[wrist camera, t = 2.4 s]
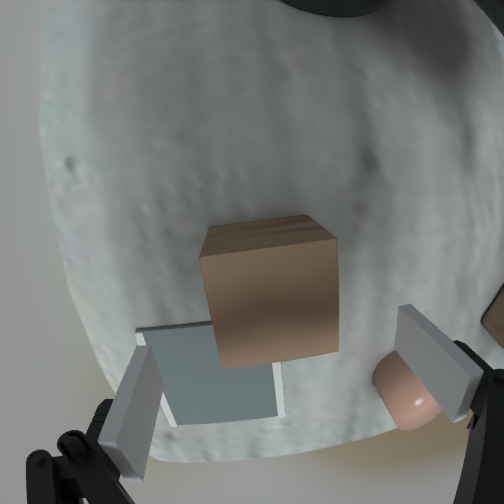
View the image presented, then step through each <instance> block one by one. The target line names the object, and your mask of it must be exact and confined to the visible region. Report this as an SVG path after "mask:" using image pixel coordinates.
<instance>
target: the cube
mask: <svg viewBox="0 0 504 504" xmlns="http://www.w3.org/2000/svg"><path fill="white" fill-rule="evenodd" d="M199 258H200V264H201V269H202V275H203V280H204V285H205V290H206V295H207V300H208V305H209V310H210V315H211V320H212V325H213V330H214V334H215V339H216V344H217V348H218V353H219V357H220V362H221V366H222V369H230V368H239V367H247V366H255V365H262V364H269V363H276V362H282V361H288V360H294V359H300V358H306V357H311V356H317V355H322V354H327V353H332V352H337V351H338V348H339V279H338V248H337V238H336V237H334V236H333V235H332V234H331V233H329V232H328V231H327V230H326V229H324V228H323V227H322V226H320V225H319V224H318V223H317V222H315V221H314V220H313V219H311V218H310V217H309V216H307V215H300V216H292V217H284V218H276V219H268V220H260V221H253V222H245V223H238V224H231V225H223V226H216V227H209V229H208V232H207V235H206V238H205V241H204V244H203V247H202V251H201V254H200V257H199Z"/></svg>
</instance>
